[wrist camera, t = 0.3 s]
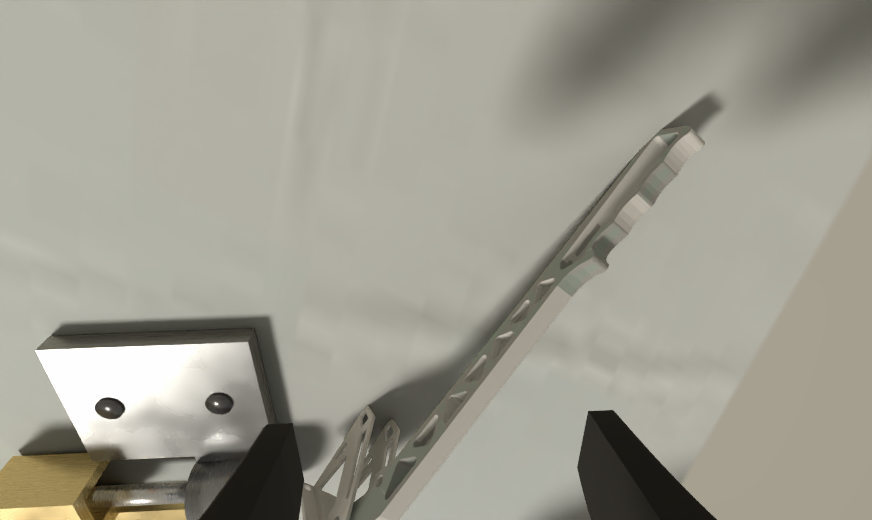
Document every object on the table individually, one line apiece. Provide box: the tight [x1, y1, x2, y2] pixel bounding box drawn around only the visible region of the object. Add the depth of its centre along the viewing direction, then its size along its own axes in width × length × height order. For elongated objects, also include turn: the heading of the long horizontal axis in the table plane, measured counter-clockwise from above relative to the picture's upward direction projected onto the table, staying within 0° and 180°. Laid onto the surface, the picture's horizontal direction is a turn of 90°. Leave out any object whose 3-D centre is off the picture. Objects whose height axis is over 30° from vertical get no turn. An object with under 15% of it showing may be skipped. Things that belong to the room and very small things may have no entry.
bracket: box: [301, 126, 705, 520], centre depth 21 cm, size 3×21×10 cm, turn 140°
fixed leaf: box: [35, 328, 277, 520], centre depth 23 cm, size 10×9×3 cm
